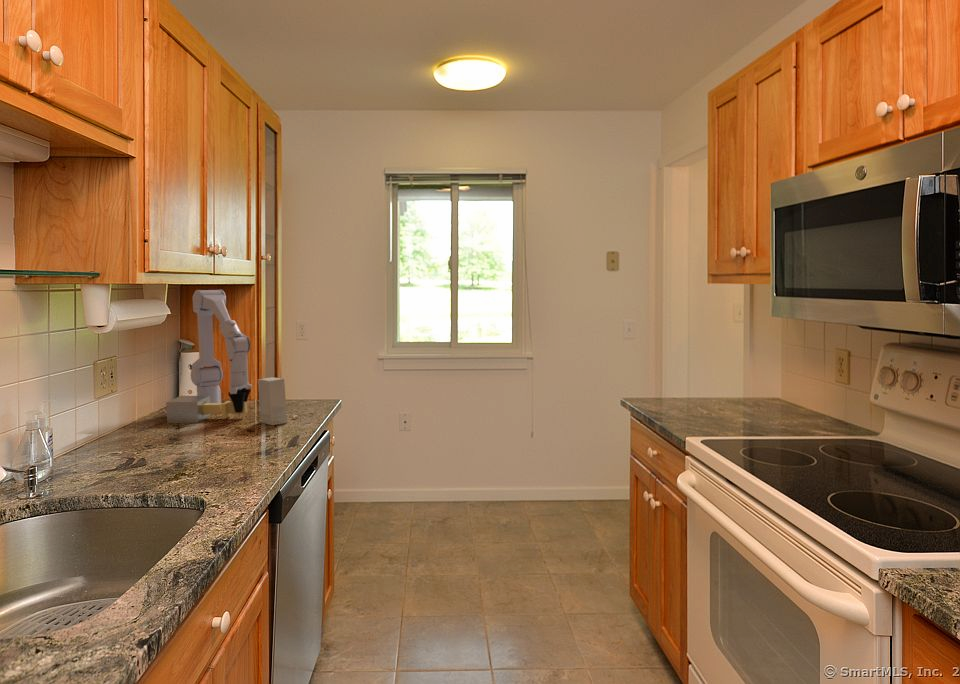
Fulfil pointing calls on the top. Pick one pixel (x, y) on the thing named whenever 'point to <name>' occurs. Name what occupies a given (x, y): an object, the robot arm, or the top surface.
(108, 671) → the top surface
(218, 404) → the end cover
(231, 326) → the robot arm
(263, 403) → the skincare box
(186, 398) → the block
